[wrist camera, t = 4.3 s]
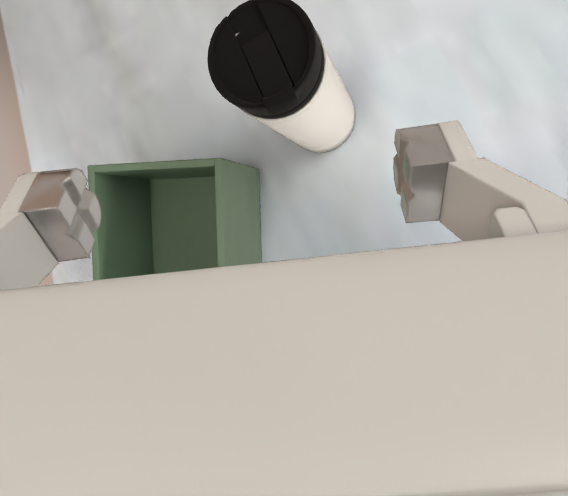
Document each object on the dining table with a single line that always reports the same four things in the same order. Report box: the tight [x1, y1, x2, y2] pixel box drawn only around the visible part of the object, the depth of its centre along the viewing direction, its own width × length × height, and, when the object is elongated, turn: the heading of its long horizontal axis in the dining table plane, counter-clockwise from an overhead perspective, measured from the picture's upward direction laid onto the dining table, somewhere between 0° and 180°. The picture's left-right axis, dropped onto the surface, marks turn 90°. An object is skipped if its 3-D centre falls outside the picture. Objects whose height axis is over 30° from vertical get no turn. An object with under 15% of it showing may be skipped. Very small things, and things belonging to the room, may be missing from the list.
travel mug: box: [208, 0, 355, 152], centre depth 35 cm, size 6×7×20 cm
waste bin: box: [88, 158, 262, 280], centre depth 44 cm, size 12×12×10 cm
